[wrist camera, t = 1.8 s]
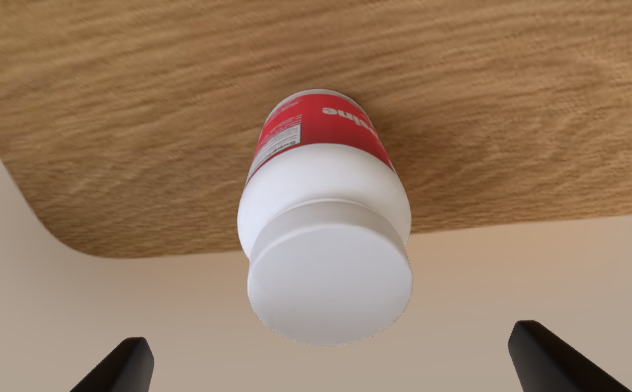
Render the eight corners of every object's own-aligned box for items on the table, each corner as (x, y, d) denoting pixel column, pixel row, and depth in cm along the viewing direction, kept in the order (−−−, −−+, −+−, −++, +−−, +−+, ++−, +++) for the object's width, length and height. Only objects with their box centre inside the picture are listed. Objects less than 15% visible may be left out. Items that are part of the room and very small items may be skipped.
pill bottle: (394, 151, 20) (478, 306, 10) (308, 208, 22) (311, 385, 12) (328, 59, 17) (360, 151, 8) (236, 132, 19) (169, 282, 9)
